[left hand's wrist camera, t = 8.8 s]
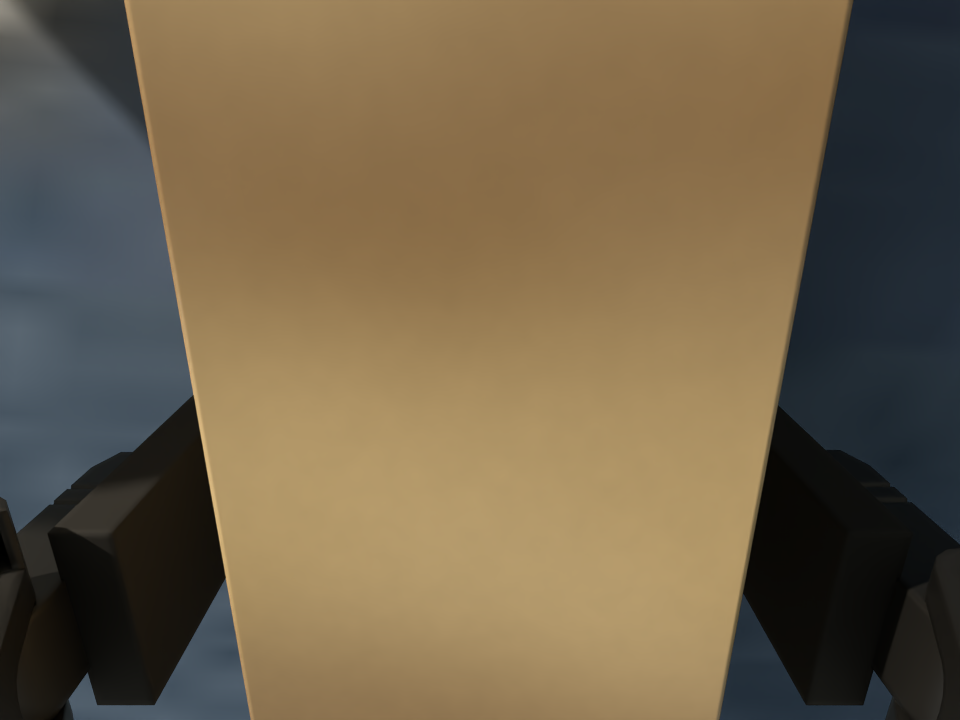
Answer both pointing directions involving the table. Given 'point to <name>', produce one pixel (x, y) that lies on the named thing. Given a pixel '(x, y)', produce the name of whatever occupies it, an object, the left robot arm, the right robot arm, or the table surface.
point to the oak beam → (487, 333)
